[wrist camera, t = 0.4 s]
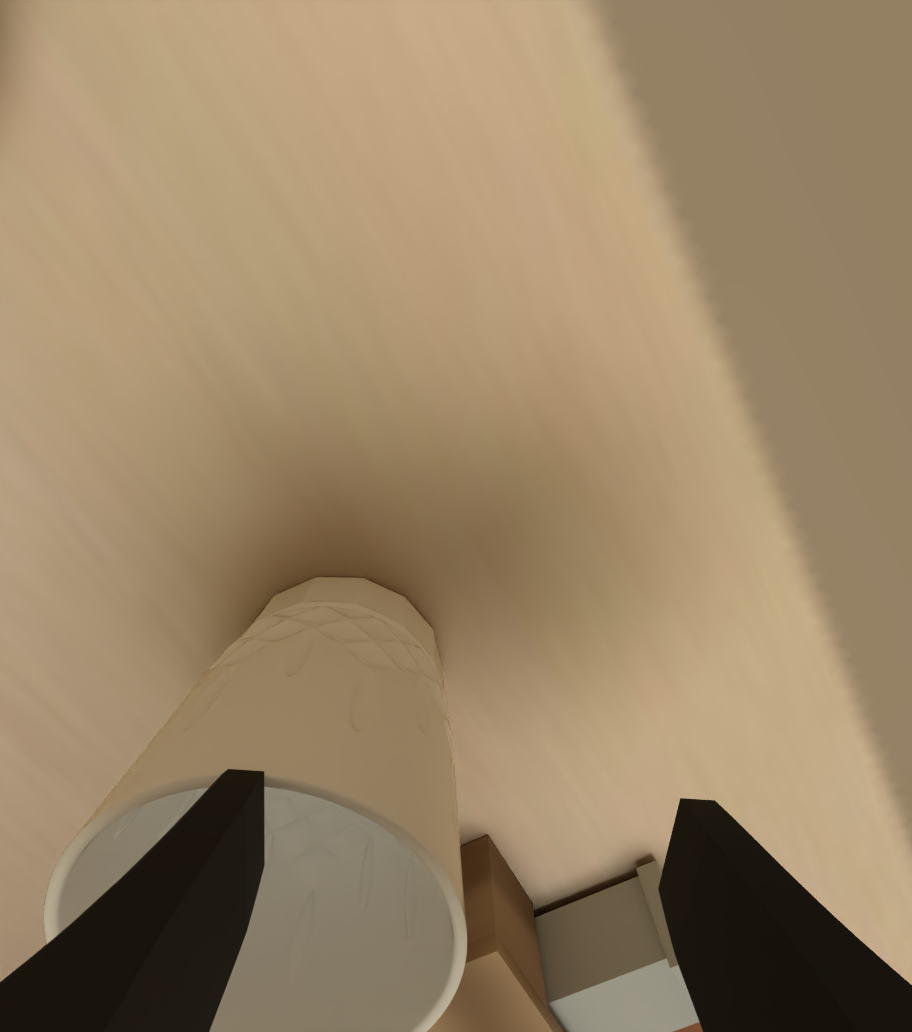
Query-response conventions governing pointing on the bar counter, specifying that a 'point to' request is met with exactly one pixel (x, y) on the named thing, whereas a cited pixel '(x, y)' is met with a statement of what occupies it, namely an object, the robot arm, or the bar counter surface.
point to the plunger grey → (614, 961)
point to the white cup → (313, 813)
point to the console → (497, 952)
